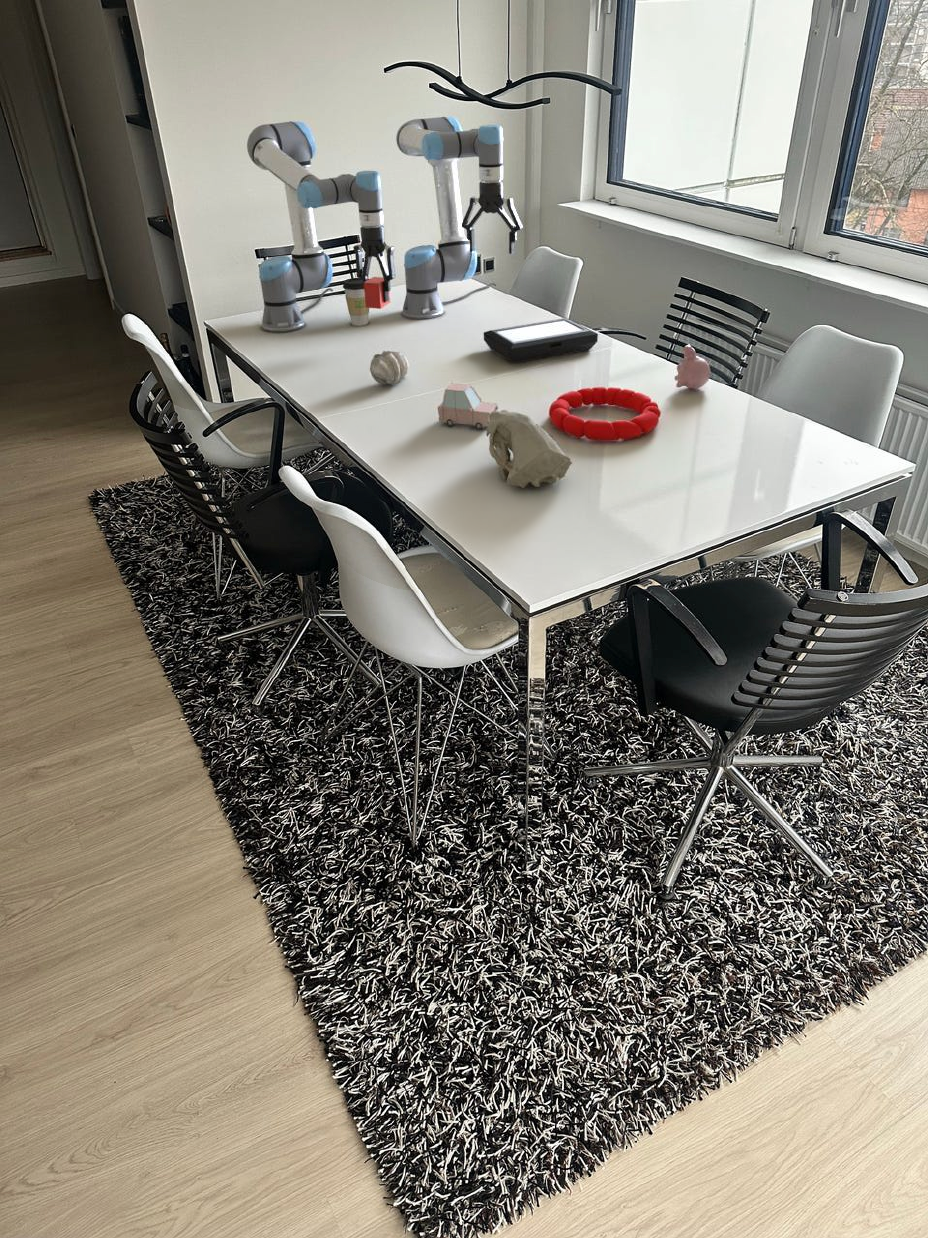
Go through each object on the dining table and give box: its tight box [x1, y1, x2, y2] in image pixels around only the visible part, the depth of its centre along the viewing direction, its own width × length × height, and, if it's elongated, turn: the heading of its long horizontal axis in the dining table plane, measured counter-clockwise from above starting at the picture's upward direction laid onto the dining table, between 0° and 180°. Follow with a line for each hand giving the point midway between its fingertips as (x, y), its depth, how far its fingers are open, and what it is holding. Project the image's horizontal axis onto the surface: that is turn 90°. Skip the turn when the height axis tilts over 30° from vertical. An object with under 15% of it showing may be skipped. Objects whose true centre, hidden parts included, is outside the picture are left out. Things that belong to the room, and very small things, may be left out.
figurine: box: [674, 344, 711, 390], centre depth 259 cm, size 9×11×12 cm
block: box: [364, 276, 391, 310], centre depth 294 cm, size 6×8×8 cm
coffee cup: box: [342, 277, 370, 327], centre depth 323 cm, size 10×10×15 cm
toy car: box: [437, 382, 499, 431], centre depth 243 cm, size 9×15×10 cm, turn 70°
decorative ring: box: [548, 386, 661, 442], centre depth 242 cm, size 7×30×30 cm
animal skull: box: [485, 409, 573, 489], centre depth 216 cm, size 17×25×20 cm
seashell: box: [369, 350, 409, 385], centre depth 270 cm, size 10×15×10 cm
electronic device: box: [483, 317, 599, 364], centre depth 294 cm, size 32×6×20 cm
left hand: (377, 300), depth 296 cm, fingers closed on block, 5 cm apart
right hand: (491, 251), depth 294 cm, fingers open, 13 cm apart
